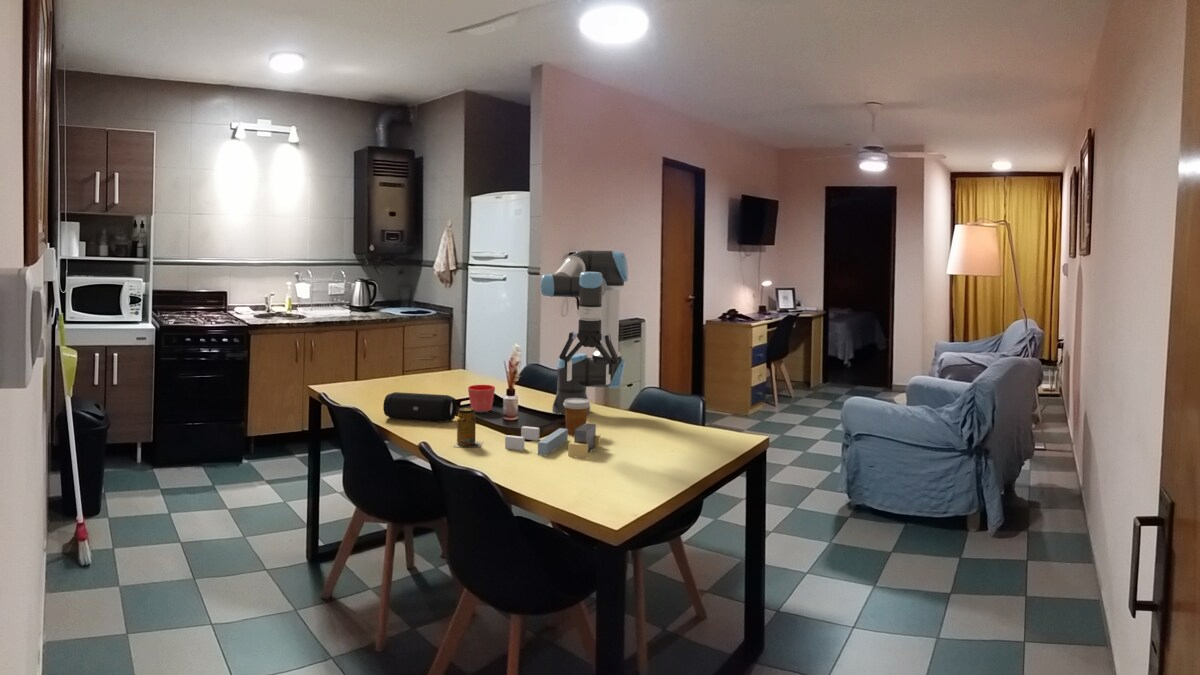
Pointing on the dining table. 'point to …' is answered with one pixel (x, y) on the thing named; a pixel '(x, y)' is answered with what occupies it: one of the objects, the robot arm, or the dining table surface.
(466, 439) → the condiment
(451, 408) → the portable speaker
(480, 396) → the flower pot
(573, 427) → the disposable coffee cup
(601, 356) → the robot arm
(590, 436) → the steel block
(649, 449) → the dining table surface
